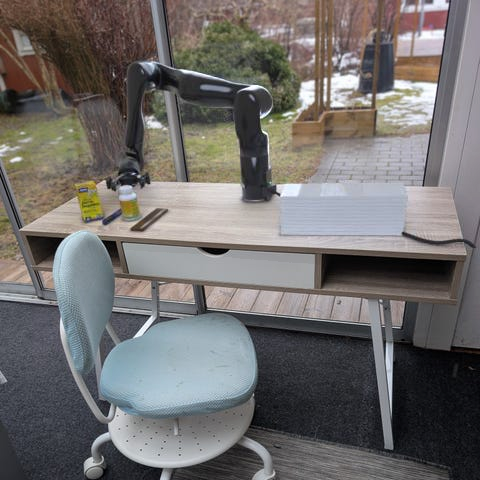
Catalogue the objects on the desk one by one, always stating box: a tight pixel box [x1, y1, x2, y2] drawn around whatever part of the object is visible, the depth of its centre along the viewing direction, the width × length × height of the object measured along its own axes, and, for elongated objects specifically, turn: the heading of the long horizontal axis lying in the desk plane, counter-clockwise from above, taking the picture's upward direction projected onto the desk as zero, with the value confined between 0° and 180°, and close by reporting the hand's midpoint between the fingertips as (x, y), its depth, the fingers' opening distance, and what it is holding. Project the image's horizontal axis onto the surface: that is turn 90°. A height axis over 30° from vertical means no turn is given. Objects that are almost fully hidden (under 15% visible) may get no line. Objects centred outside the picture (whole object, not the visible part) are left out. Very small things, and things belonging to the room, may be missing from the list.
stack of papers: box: [279, 181, 409, 237], centre depth 128 cm, size 32×11×11 cm, turn 80°
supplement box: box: [73, 180, 105, 223], centre depth 149 cm, size 6×6×11 cm
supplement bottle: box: [118, 186, 141, 222], centre depth 147 cm, size 5×5×10 cm
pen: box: [101, 207, 122, 226], centre depth 150 cm, size 15×2×2 cm, turn 161°
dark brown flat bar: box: [130, 207, 169, 233], centre depth 146 cm, size 17×4×1 cm, turn 161°
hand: (127, 187), depth 151 cm, fingers open, 8 cm apart
